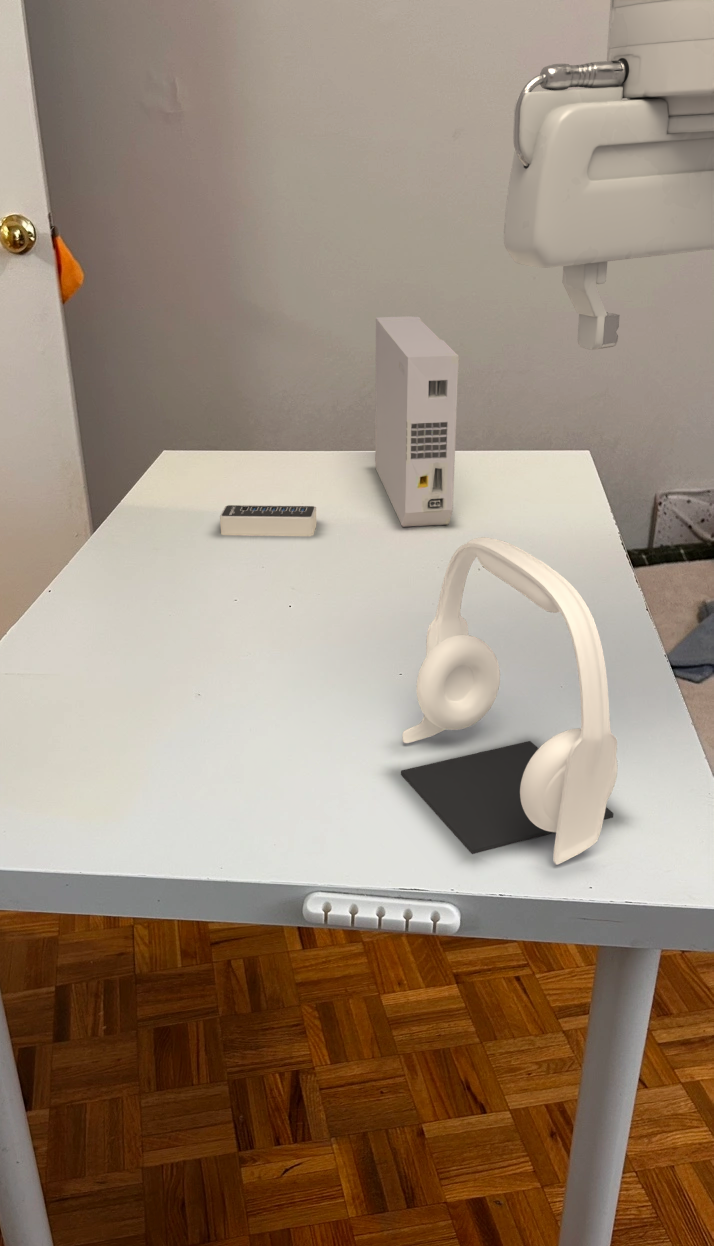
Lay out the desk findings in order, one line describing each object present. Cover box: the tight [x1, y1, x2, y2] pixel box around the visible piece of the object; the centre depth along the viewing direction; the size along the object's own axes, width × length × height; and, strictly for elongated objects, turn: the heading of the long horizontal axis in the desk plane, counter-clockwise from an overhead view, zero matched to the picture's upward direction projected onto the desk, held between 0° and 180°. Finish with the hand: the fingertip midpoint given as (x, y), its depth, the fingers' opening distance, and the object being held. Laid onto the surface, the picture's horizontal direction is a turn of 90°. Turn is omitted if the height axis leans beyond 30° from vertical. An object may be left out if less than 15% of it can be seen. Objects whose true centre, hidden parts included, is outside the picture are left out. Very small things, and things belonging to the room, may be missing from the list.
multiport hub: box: [219, 504, 318, 537], centre depth 131 cm, size 4×11×2 cm, turn 84°
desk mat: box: [400, 740, 614, 855], centre depth 79 cm, size 11×11×1 cm
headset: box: [401, 536, 618, 865], centre depth 75 cm, size 20×7×18 cm, turn 21°
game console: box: [374, 315, 460, 528], centre depth 136 cm, size 6×27×20 cm, turn 4°
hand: (667, 337), depth 63 cm, fingers open, 8 cm apart
